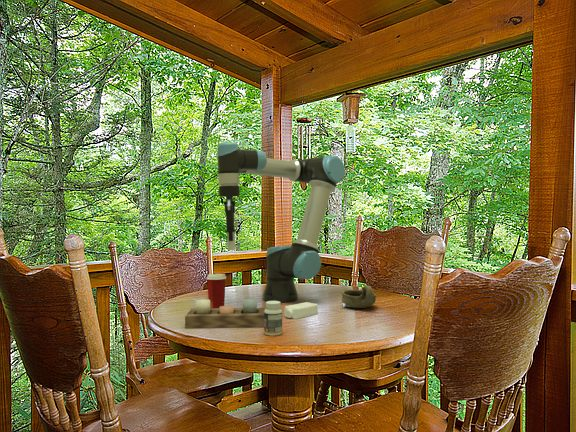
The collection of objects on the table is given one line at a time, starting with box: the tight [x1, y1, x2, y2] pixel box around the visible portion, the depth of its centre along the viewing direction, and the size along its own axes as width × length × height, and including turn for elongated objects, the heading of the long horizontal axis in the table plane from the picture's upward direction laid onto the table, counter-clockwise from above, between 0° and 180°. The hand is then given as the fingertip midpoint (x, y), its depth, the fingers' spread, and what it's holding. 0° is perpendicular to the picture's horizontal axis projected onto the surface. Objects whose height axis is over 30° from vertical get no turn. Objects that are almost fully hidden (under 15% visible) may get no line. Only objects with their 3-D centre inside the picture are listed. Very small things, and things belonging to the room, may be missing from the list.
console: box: [184, 307, 266, 329], centre depth 157 cm, size 26×12×4 cm, turn 92°
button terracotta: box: [220, 305, 235, 314], centre depth 157 cm, size 5×5×4 cm
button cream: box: [195, 298, 210, 314], centre depth 156 cm, size 5×5×4 cm
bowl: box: [341, 285, 377, 309], centre depth 179 cm, size 14×18×10 cm
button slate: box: [242, 298, 258, 313], centre depth 157 cm, size 5×5×4 cm
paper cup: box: [205, 273, 227, 308], centre depth 176 cm, size 8×8×14 cm
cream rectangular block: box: [283, 301, 319, 320], centre depth 167 cm, size 6×13×4 cm, turn 135°
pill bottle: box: [263, 301, 283, 337], centre depth 143 cm, size 6×6×10 cm
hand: (231, 249), depth 168 cm, fingers closed
